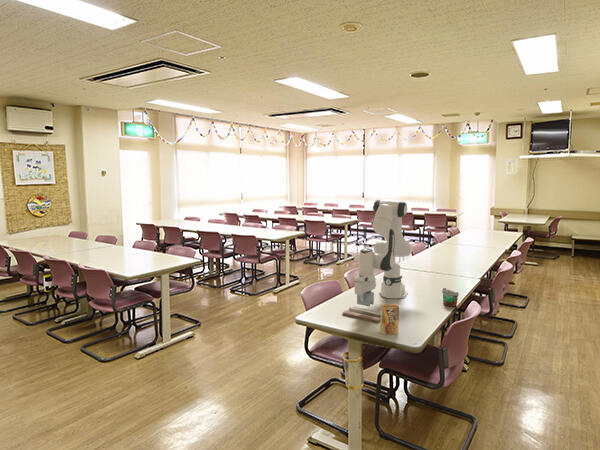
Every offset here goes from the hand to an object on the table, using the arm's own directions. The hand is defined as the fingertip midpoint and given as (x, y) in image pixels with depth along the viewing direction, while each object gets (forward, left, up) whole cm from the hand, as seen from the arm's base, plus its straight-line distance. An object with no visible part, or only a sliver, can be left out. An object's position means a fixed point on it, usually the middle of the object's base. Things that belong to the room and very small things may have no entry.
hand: (365, 298), depth 233 cm
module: (0, 0, -3) cm, 3 cm away
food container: (-51, +33, -11) cm, 61 cm away
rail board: (0, 0, -10) cm, 10 cm away
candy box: (+16, +23, -11) cm, 30 cm away
